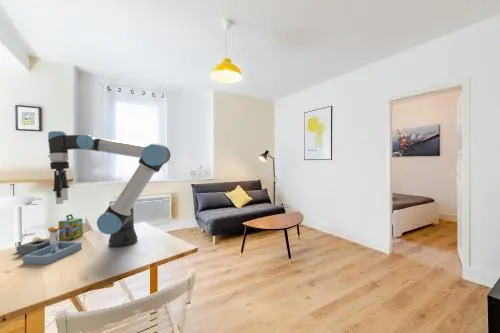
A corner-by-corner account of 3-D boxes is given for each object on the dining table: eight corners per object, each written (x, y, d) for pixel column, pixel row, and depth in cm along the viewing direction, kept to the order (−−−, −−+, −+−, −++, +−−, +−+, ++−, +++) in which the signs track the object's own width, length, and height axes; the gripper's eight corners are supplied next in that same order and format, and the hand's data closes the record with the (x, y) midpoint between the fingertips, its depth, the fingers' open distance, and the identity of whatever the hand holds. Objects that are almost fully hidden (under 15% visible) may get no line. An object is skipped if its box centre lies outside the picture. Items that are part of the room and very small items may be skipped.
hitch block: (29, 247, 135) (29, 238, 135) (55, 248, 134) (54, 239, 133) (10, 254, 125) (9, 245, 125) (37, 255, 124) (36, 246, 123)
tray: (60, 247, 134) (60, 241, 134) (81, 248, 133) (81, 242, 133) (23, 263, 114) (22, 256, 114) (47, 264, 113) (47, 257, 113)
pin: (50, 253, 124) (49, 227, 124) (61, 251, 127) (60, 226, 126) (47, 256, 120) (46, 229, 120) (59, 255, 123) (58, 228, 122)
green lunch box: (72, 240, 147) (71, 216, 147) (58, 240, 148) (57, 216, 147) (83, 235, 156) (82, 213, 156) (70, 235, 157) (69, 213, 157)
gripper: (55, 161, 132) (58, 199, 133) (43, 161, 110) (47, 206, 111) (72, 161, 136) (75, 198, 137) (63, 160, 114) (66, 204, 115)
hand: (62, 202), depth 124 cm, fingers open, 13 cm apart
